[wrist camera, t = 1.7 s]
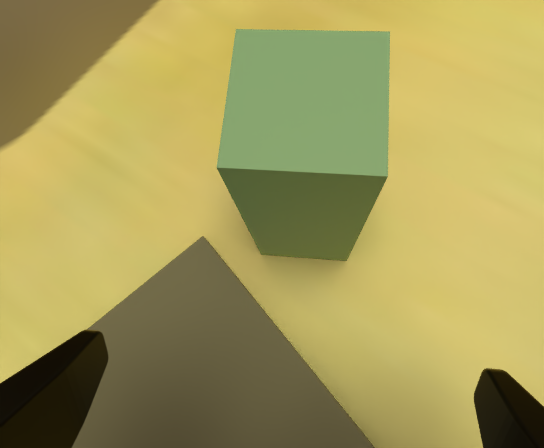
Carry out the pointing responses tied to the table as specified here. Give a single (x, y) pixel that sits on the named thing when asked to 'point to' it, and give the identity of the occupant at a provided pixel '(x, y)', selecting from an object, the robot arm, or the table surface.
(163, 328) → the rubber mat
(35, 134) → the table surface
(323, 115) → the teal block
